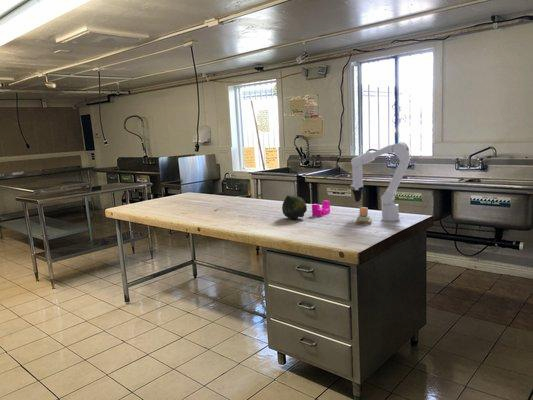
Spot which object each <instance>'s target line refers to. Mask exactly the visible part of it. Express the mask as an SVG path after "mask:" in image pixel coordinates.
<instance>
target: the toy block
mask: <svg viewBox="0 0 533 400" xmlns="http://www.w3.org/2000/svg"><path fill="white" fill-rule="evenodd" d="M321 204H322V205H321V207H320V204H319V203H313V204H311V213H312V214H311V216H312V217H313V216H314V217H319V216H321V217H324V216H326V214H327V215H328V214H330V212H331V201H330V200H322V203H321Z"/></svg>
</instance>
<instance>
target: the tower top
mask: <svg viewBox="0 0 533 400" xmlns="http://www.w3.org/2000/svg"><path fill="white" fill-rule="evenodd" d="M369 219H371V218H370V214H368V216H365V217H363V216H359V214H358V215H357V216H356V220H357V221H369Z"/></svg>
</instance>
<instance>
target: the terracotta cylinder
mask: <svg viewBox="0 0 533 400" xmlns="http://www.w3.org/2000/svg"><path fill="white" fill-rule="evenodd" d="M358 215H359V216H363V217H365V216H368V215H369V208H368V207H366V206H365V207H364V206H361V207H359V214H358Z"/></svg>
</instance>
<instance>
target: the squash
mask: <svg viewBox="0 0 533 400" xmlns="http://www.w3.org/2000/svg"><path fill="white" fill-rule="evenodd" d="M281 208H282V214H283V215H284V216H285V217H286V218H288V219H290V220H292V221H293V220H298V219H299V218H303V217H304V216H305V213H307V211H308V210H307V204H306V201H305V200H304V199H303V197H300V196H296V195H286V197H285V198H284V200H283V202H282V206H281Z"/></svg>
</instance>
